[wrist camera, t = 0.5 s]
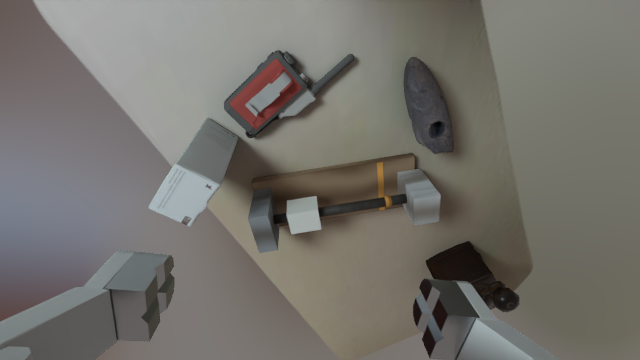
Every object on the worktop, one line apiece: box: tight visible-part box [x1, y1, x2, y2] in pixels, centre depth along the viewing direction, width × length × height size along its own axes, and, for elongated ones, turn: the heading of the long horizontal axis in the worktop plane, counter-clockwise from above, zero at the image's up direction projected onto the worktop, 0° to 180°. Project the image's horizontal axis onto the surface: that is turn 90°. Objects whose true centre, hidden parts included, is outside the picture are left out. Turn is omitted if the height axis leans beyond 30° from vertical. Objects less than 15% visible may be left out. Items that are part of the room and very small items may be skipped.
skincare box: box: [149, 118, 239, 227], centre depth 43 cm, size 8×6×15 cm
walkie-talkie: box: [224, 50, 354, 138], centre depth 43 cm, size 9×4×20 cm
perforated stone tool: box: [404, 57, 454, 154], centre depth 45 cm, size 15×5×7 cm, turn 22°
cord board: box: [248, 153, 441, 253], centre depth 51 cm, size 10×29×10 cm, turn 98°
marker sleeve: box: [286, 196, 322, 234], centre depth 50 cm, size 4×5×4 cm
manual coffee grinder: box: [426, 241, 519, 312], centre depth 58 cm, size 16×11×18 cm
